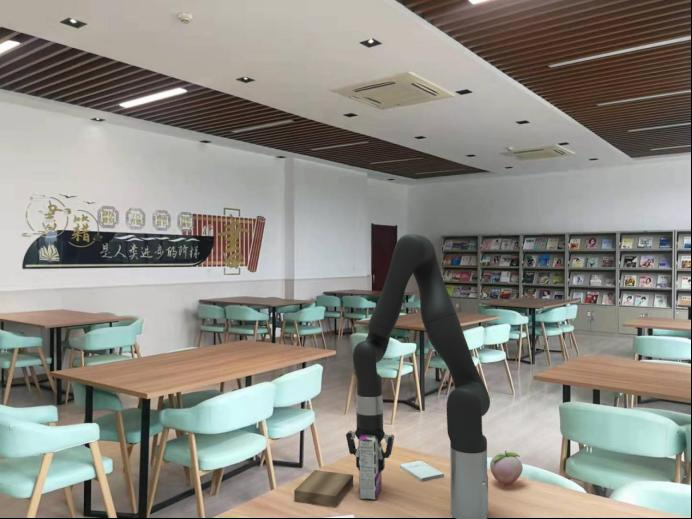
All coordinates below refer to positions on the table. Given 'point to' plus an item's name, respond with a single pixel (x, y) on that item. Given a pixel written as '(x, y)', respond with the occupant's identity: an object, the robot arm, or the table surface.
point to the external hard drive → (421, 471)
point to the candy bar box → (369, 467)
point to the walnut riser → (323, 488)
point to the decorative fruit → (506, 467)
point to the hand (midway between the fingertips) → (370, 470)
